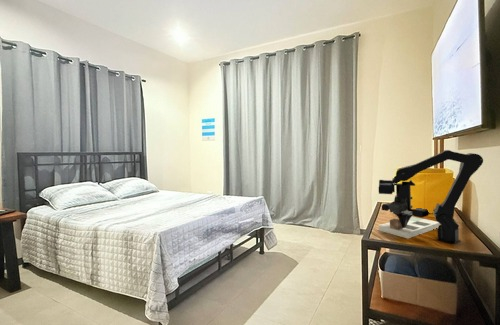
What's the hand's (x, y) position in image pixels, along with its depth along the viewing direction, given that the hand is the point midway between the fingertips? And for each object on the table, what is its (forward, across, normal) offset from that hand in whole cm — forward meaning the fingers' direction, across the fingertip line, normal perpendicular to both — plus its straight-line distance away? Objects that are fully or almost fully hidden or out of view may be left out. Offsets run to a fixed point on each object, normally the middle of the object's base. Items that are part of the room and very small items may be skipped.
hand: (403, 227), depth 118 cm
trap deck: (+4, -4, +12) cm, 13 cm away
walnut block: (+1, -4, 0) cm, 4 cm away
